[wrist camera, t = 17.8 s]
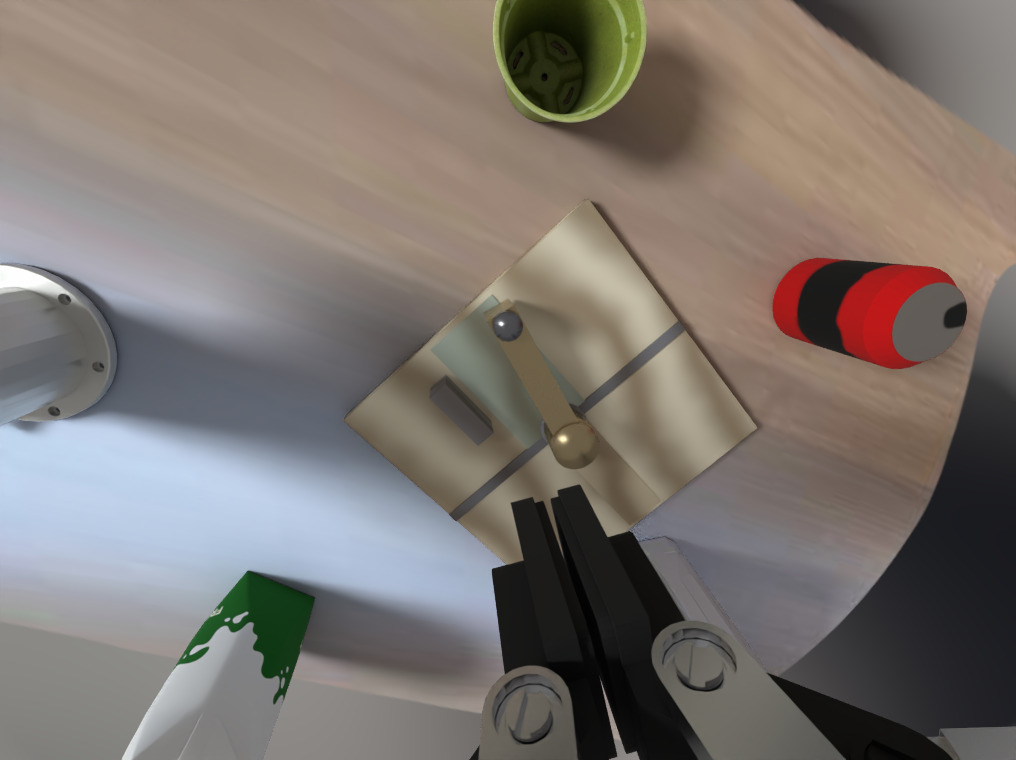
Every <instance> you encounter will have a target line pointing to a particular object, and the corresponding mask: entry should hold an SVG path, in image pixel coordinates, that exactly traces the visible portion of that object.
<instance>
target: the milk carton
mask: <svg viewBox="0 0 1016 760" xmlns="http://www.w3.org/2000/svg"><path fill="white" fill-rule="evenodd" d="M314 600H315V598H314V597H311V596H309V595H306V594H304V593H302V592H299V591H297V590H294V589H292V588H289V587H287V586H284V585H282V584H279V583H277V582H274V581H272V580H269V579H267V578H264V577H262V576H259V575H257V574H255V573H252V572H250V571H247V572H246V573H245V575H244V576H243V577H242V578H241V579H240V581H239V582H238V583H237V584H236V585H235V586H234V588H233V589H232V590H231V591H230V592H229V593H228V595H227V596H226V597H225V598H224V599H223V601H222V602H221V603H220V604H219V605H218V606H217V608H216V609H215V610H214V611H213V612H212V614H211V615H210V616H209V617H208V618H207V620H206V621H205V622H204V624H203V625H202V626H201V628H200V629H199V631H198V632H197V634H196V635H195V637H194V638H193V639H192V641H191V642H190V644H189V645H188V647H187V649H186V650H185V652H184V653H183V655H182V657H181V658H180V660H179V662H178V663H177V665H176V667H175V668H174V670H173V671H172V673H171V674H170V676H169V678H168V679H167V681H166V682H165V684H164V686H163V687H162V689H161V690H160V692H159V694H158V695H157V697H156V699H155V700H154V702H153V703H152V705H151V707H150V708H149V710H148V711H147V713H146V715H145V717H144V719H143V721H142V723H141V724H140V726H139V728H138V730H137V732H136V734H135V736H134V737H133V739H132V740H131V742H130V744H129V746H128V748H127V750H126V752H125V754H124V756H123V758H122V760H263V758H264V755H265V752H266V749H267V746H268V743H269V741H270V738H271V735H272V732H273V729H274V726H275V723H276V721H277V718H278V715H279V712H280V709H281V706H282V703H283V700H284V698H285V694H286V692H287V689H288V686H289V683H290V680H291V677H292V674H293V672H294V669H295V666H296V663H297V660H298V657H299V654H300V650H301V647H302V643H303V640H304V636H305V632H306V629H307V625H308V622H309V618H310V614H311V611H312V607H313V603H314Z"/></svg>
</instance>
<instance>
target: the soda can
mask: <svg viewBox="0 0 1016 760" xmlns="http://www.w3.org/2000/svg"><path fill="white" fill-rule="evenodd" d="M966 314H967V305H966V301H965V297H964V296H963V294H962V292H961V291H960V290H959V289H958V288H957V286H956V284H955V283H954V281H953V280H952V278H951V277H950V276H949V275H948V274H947V273H945V272H943V271H942V270H940V269H937V268H933V267H926V266H913V265H901V264H889V263H876V262H864V261H851V260H839V259H827V258H814V259H809V260H806V261H804V262H801V263H799V264H798V265H796V266H795V267H793V268H792V269H791V270H790V271H789V272H788V273H787V274H786V275H785V276H784V277H783V279H782V280H781V282H780V283H779V285H778V287H777V290H776V292H775V295H774V299H773V315H774V319H775V322H776V324H777V326H778V327H779V329H780V330H781V331H782V332H783V333H785V334H786V335H788V336H790V337H792V338H795V339H798V340H801V341H804V342H808V343H811V344H814V345H817V346H820V347H823V348H826V349H830V350H833V351H836V352H839V353H842V354H845V355H848V356H852V357H855V358H858V359H861V360H864V361H867V362H870V363H873V364H877V365H880V366H883V367H887V368H891V369H903V368H908V367H911V366H914V365H916V364H919V363H921V362H924V361H927V360H930V359H932V358H935V357H937V356H938V355H940V354H942V353H943V352H944V351H946V350H947V349H948V348H949V347H950V346H951V345H952V344H953V343H954V342H955V340H956V339H957V337H958V336H959V334H960V332H961V331H962V329H963V326H964V323H965V320H966Z"/></svg>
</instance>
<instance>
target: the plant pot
mask: <svg viewBox="0 0 1016 760" xmlns="http://www.w3.org/2000/svg"><path fill="white" fill-rule="evenodd" d="M646 41H647V25H646V14H645V8H644V4H643V1H642V0H497V2H496V6H495V12H494V19H493V43H494V50H495V55H496V60H497V63H498V66H499V69H500V72H501V74H502V76H503V78H504V80H505V87H506V90H507V93H508V96H509V98H510V101H511V102H512V104H513V105H514V107H515V108H516V109H517V110H518V111H519V112H520V113H521V114H522V115H523V116H525V117H526V118H528V119H531V120H533V121H537V122H552V121H557V122H563V123H574V122H582V121H586V120H590V119H593V118H595V117H597V116H599V115H601V114H603V113H605V112H606V111H608V110H609V109H611V108H612V107H613V106H615V105H616V104H617V103H618V102H619V101H620V100H621V99H622V98H623V96H624V95H625V94H626V93H627V91H628V90H629V89H630V87H631V85H632V84H633V82H634V80H635V78H636V76H637V74H638V72H639V69H640V67H641V64H642V60H643V57H644V52H645V47H646ZM553 42H556V43H558V44H560V45H561V46H562V47H563V48H564V49H565V50H566V52H567V55H565V56H564V55H563V54H562V53H561V52H560V51H559V50H558V49H556V48H554V47H552V45H551V43H553ZM521 51H522V52H523V55H522V57H521V58H520V60H519V62H518V64H517V66H516V69H515V70H514V69H513V66H512V65H513V62H514V60H515V58H516V55H517V54H518V53H519V52H521ZM544 73H546V74H547V76H548V78H547V80H546V81H542V79H541V76H542V74H544ZM571 87H573V88H574V92H573V94H572V95H571V99H570V101H569V102H568V103H567V104H564V103H563V101H564V100H565V98H566V97H567V95H568V93H569V91H570V88H571Z"/></svg>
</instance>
